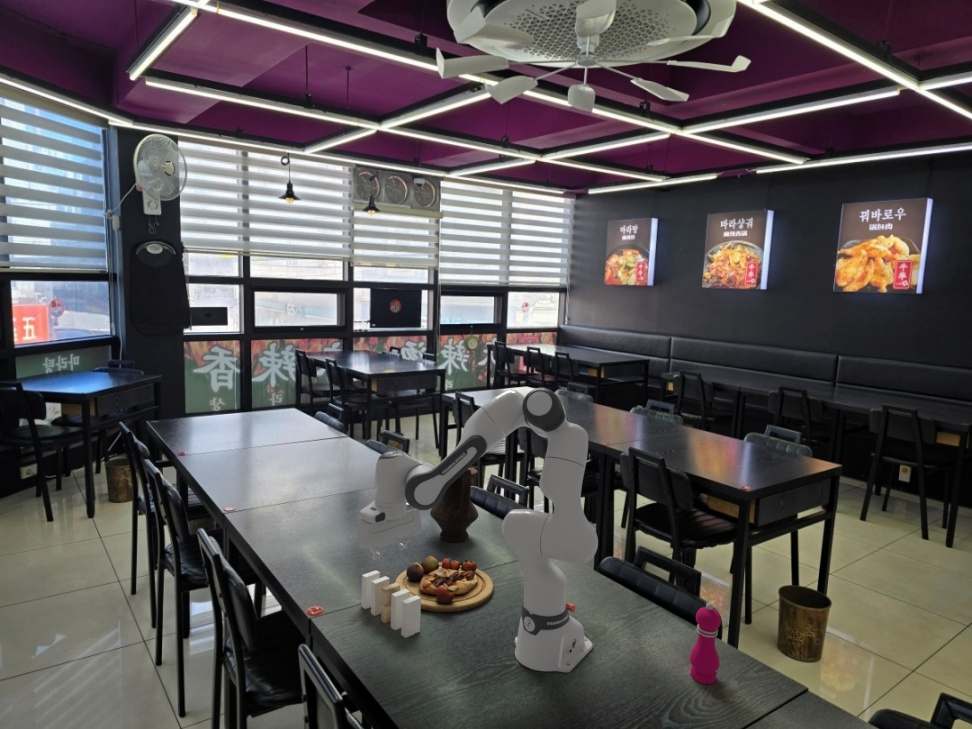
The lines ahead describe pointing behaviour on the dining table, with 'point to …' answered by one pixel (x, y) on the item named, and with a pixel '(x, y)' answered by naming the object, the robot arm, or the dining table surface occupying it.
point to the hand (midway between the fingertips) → (389, 554)
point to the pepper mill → (705, 646)
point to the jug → (456, 509)
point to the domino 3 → (387, 601)
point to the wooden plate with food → (446, 584)
